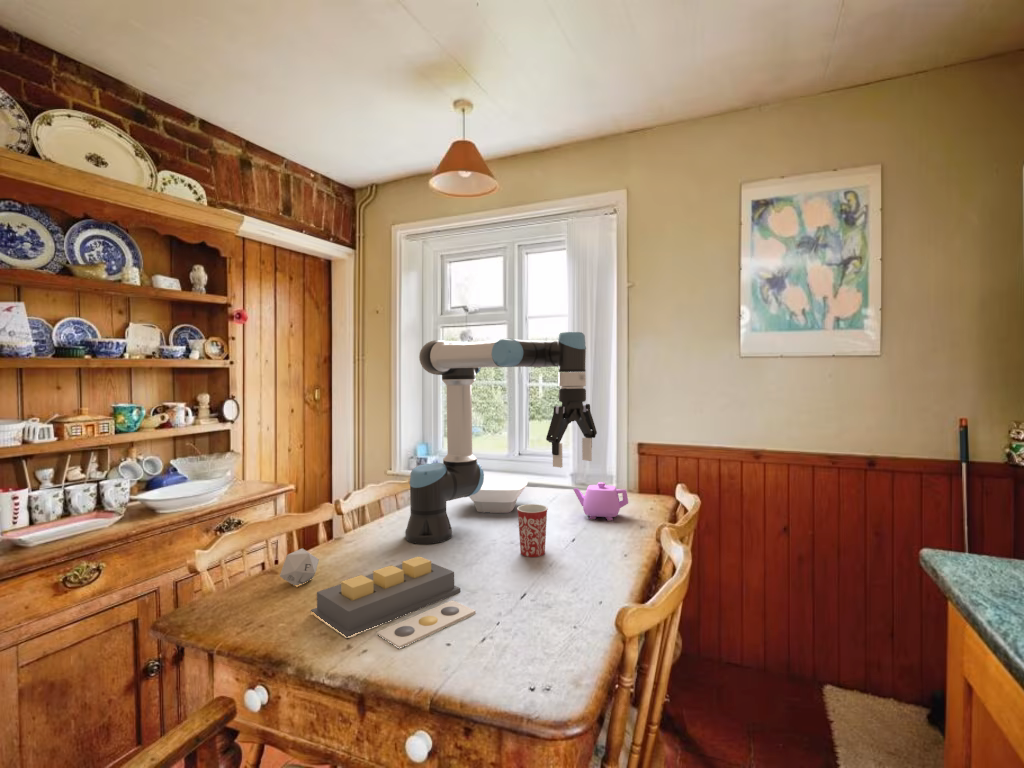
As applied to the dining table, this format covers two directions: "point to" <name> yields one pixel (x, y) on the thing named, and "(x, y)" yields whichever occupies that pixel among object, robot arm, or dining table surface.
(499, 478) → the bowl
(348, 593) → the button
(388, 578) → the button
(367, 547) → the dining table surface
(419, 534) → the robot arm
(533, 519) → the mug
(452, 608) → the card
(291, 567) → the die
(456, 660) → the dining table surface
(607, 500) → the teapot
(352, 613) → the board
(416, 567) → the button
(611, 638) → the dining table surface
